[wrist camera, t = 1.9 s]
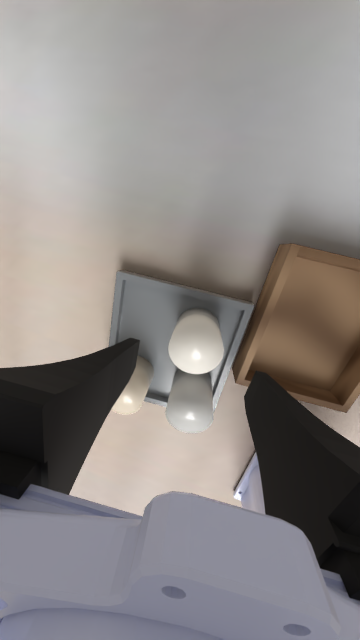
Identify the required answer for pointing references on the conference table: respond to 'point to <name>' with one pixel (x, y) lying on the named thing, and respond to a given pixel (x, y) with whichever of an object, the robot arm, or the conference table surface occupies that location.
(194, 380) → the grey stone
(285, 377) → the walnut tray
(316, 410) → the conference table surface
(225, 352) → the slate tray
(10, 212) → the conference table surface
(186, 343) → the white stone
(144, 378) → the beige stone
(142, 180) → the conference table surface
